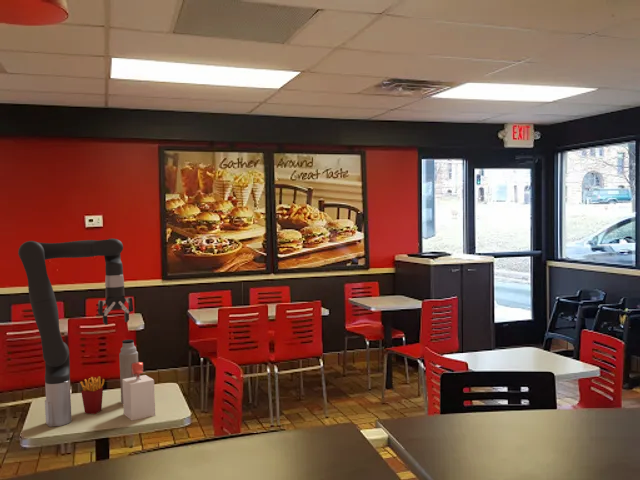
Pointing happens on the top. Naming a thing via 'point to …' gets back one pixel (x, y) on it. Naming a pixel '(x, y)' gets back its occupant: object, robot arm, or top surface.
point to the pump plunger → (137, 369)
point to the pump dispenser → (138, 397)
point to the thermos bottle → (127, 361)
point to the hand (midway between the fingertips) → (116, 323)
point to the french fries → (92, 395)
